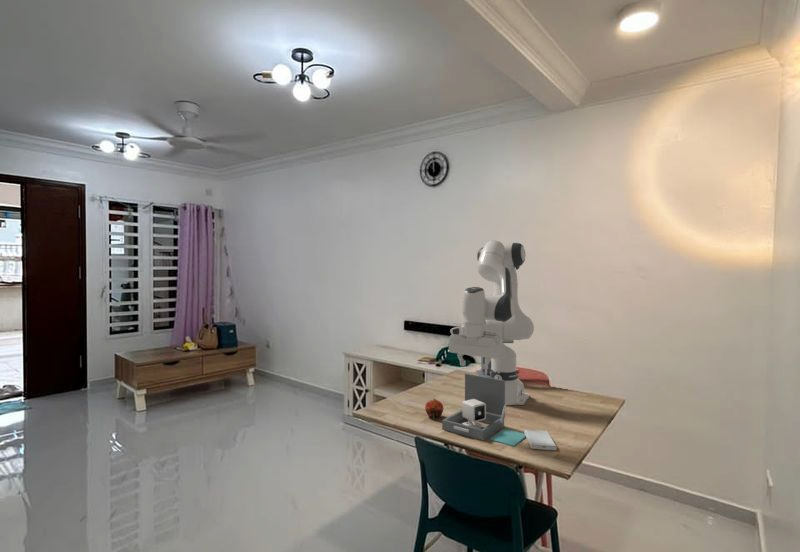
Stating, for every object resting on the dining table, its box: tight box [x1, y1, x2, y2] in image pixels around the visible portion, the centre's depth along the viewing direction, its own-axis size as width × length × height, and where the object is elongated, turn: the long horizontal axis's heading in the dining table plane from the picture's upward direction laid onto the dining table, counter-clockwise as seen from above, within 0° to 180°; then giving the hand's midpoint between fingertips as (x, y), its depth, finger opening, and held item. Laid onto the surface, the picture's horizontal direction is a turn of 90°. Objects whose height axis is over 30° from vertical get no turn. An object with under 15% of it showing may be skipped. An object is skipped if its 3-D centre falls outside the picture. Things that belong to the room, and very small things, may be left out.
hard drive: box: [523, 429, 558, 451], centre depth 149 cm, size 2×8×12 cm
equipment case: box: [441, 373, 507, 442], centre depth 162 cm, size 19×18×18 cm
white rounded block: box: [461, 399, 486, 429], centre depth 162 cm, size 6×7×10 cm
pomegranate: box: [424, 398, 444, 421], centre depth 174 cm, size 7×7×10 cm
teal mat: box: [489, 428, 526, 447], centre depth 153 cm, size 12×9×1 cm
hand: (473, 367), depth 162 cm, fingers open, 8 cm apart
